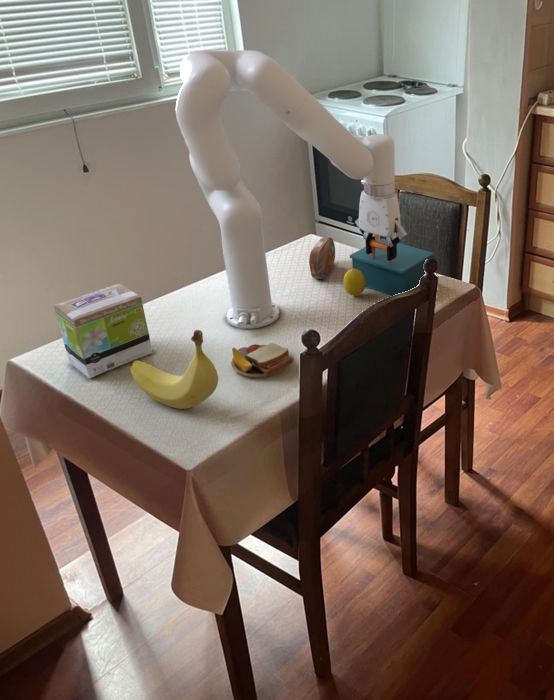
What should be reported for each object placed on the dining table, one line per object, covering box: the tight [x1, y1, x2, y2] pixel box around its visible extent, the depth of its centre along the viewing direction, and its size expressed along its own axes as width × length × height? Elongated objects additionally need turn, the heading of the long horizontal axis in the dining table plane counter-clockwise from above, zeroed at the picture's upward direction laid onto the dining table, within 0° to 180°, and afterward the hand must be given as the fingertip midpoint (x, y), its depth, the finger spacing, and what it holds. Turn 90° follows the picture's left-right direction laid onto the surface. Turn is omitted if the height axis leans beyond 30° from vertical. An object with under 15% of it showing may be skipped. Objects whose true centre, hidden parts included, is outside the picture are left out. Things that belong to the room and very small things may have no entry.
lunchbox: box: [351, 255, 435, 296], centre depth 191 cm, size 13×17×7 cm
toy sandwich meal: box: [230, 342, 294, 379], centre depth 157 cm, size 12×14×5 cm
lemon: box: [342, 268, 366, 298], centre depth 183 cm, size 6×6×8 cm
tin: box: [308, 237, 336, 280], centre depth 196 cm, size 15×3×8 cm, turn 168°
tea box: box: [53, 282, 153, 379], centre depth 157 cm, size 15×10×15 cm, turn 137°
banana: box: [129, 329, 219, 409], centre depth 141 cm, size 23×6×20 cm, turn 62°
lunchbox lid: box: [349, 237, 435, 274], centre depth 187 cm, size 14×17×6 cm
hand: (381, 255), depth 184 cm, fingers closed on lunchbox lid, 6 cm apart
